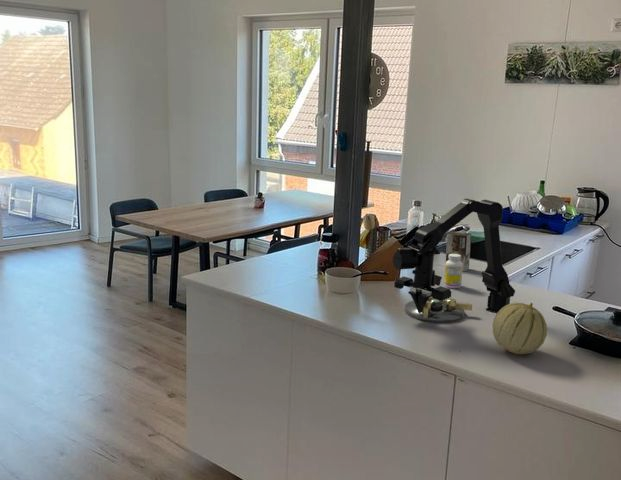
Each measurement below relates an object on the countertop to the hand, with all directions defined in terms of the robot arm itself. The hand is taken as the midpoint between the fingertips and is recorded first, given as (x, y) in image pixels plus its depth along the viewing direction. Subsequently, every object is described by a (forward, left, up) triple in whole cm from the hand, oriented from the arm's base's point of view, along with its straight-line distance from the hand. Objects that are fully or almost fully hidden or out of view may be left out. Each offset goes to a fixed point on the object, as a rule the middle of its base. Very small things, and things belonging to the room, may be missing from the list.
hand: (420, 312), depth 191 cm
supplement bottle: (+12, -43, -3) cm, 44 cm away
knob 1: (-1, -3, -1) cm, 3 cm away
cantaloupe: (-34, +1, -3) cm, 34 cm away
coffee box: (+24, -68, -3) cm, 72 cm away
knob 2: (-6, -15, -1) cm, 16 cm away
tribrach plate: (+1, -11, -3) cm, 11 cm away
